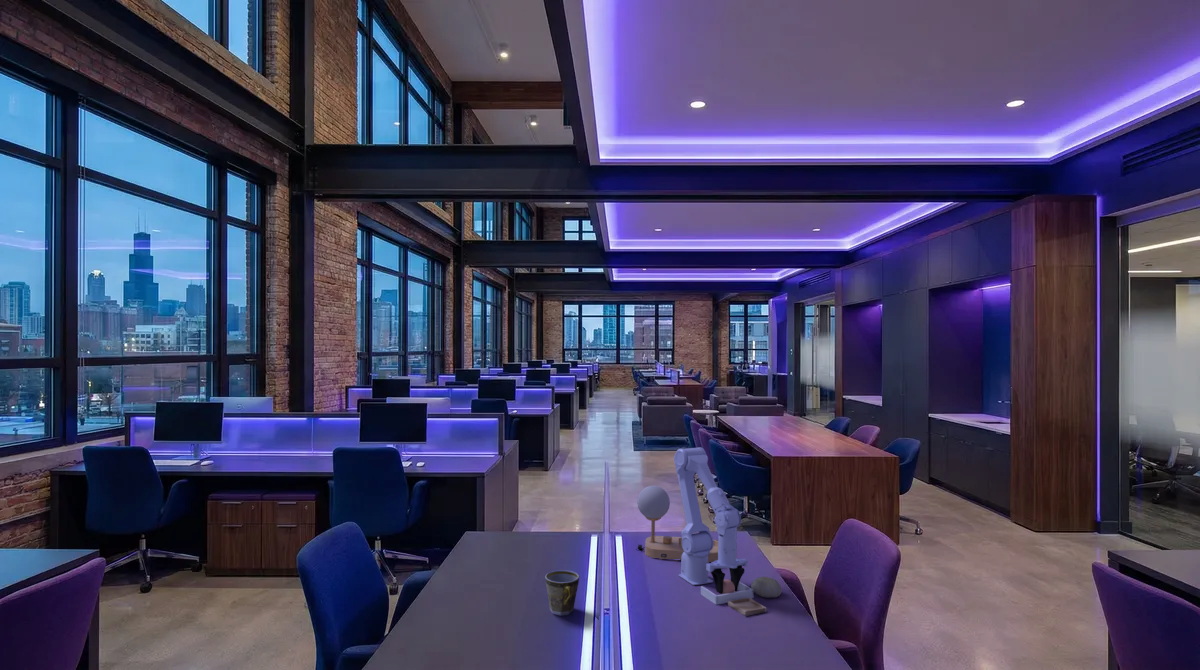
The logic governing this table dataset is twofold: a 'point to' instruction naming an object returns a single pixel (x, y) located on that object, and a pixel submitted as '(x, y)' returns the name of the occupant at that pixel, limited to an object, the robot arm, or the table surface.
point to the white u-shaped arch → (728, 594)
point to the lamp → (654, 507)
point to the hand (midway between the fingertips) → (726, 591)
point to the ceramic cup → (562, 591)
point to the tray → (747, 606)
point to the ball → (728, 587)
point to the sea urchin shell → (766, 587)
